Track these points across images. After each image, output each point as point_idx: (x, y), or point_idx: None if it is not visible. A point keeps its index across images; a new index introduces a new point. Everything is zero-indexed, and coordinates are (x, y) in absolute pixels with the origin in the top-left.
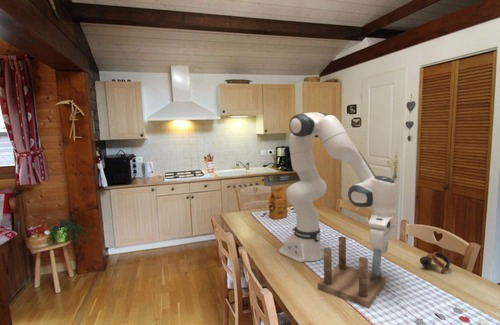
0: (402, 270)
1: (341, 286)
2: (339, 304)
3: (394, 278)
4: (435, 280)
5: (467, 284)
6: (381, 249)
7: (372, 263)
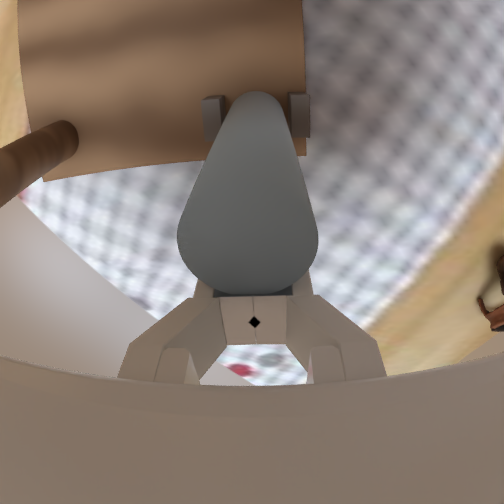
0: (467, 185)
1: (51, 31)
2: (9, 86)
3: (379, 169)
4: (429, 295)
5: (431, 351)
6: (198, 297)
7: (238, 108)
